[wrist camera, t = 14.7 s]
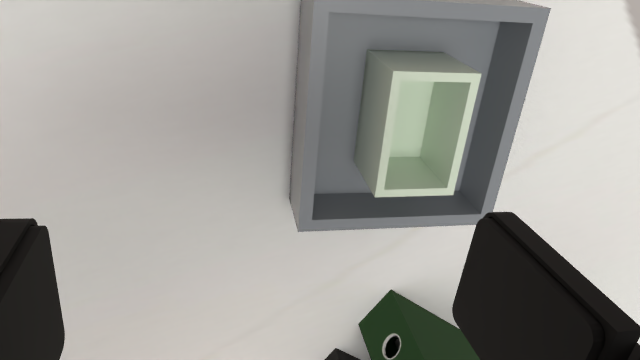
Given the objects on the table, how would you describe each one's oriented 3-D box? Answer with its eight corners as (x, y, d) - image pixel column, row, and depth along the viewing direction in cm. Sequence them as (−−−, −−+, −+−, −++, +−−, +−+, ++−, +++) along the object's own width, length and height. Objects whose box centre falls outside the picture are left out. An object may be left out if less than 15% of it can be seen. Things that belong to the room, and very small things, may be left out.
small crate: (422, 160, 40) (453, 195, 35) (353, 160, 39) (374, 197, 34) (443, 52, 36) (481, 73, 31) (367, 49, 35) (393, 71, 30)
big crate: (462, 194, 44) (489, 224, 39) (289, 199, 41) (298, 231, 36) (510, -2, 36) (550, 8, 32) (301, -16, 33) (314, -7, 28)
